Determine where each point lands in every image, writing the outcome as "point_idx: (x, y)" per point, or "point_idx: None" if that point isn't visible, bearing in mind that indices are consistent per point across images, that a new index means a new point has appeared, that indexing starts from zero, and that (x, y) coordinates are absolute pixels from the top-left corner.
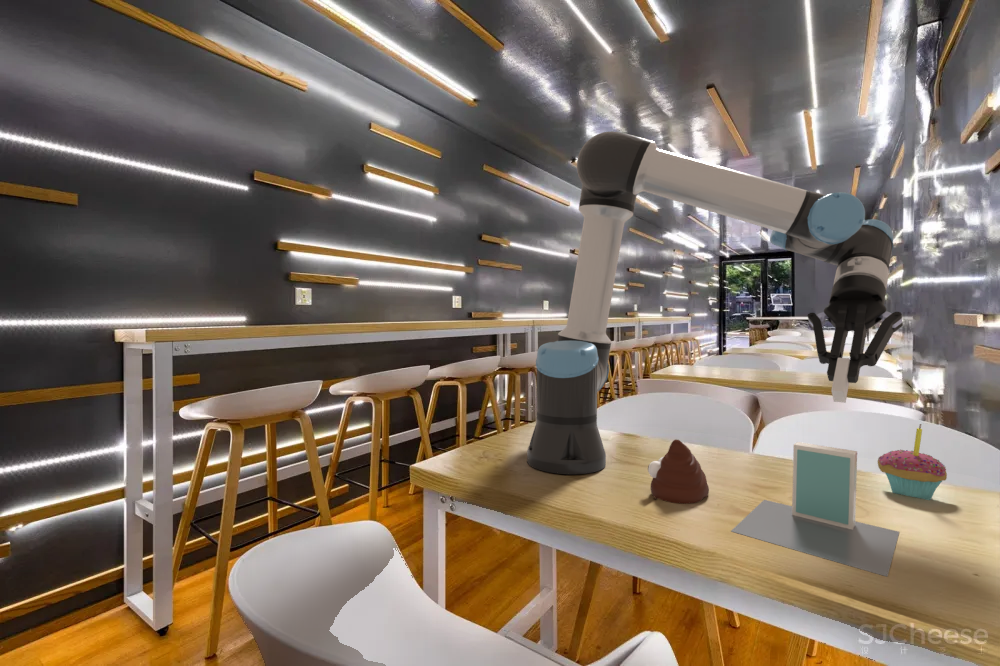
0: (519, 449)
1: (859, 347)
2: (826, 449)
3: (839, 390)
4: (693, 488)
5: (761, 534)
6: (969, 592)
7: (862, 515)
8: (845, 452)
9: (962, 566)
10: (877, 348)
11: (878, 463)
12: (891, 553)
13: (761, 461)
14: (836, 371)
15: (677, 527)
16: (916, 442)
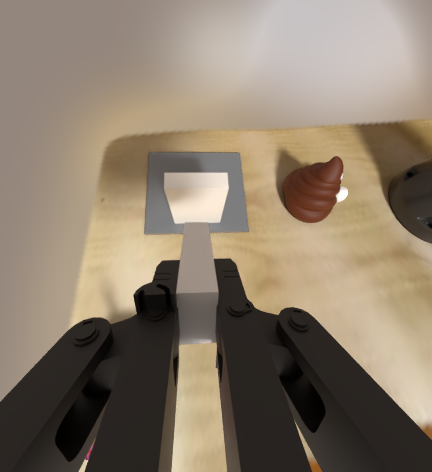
0: None
1: (124, 369)
2: (193, 173)
3: (192, 222)
4: (291, 178)
5: (222, 160)
6: (110, 171)
7: None
8: (173, 174)
9: (108, 207)
10: (25, 378)
11: None
12: (148, 186)
13: None
14: (208, 250)
15: (269, 145)
16: None
